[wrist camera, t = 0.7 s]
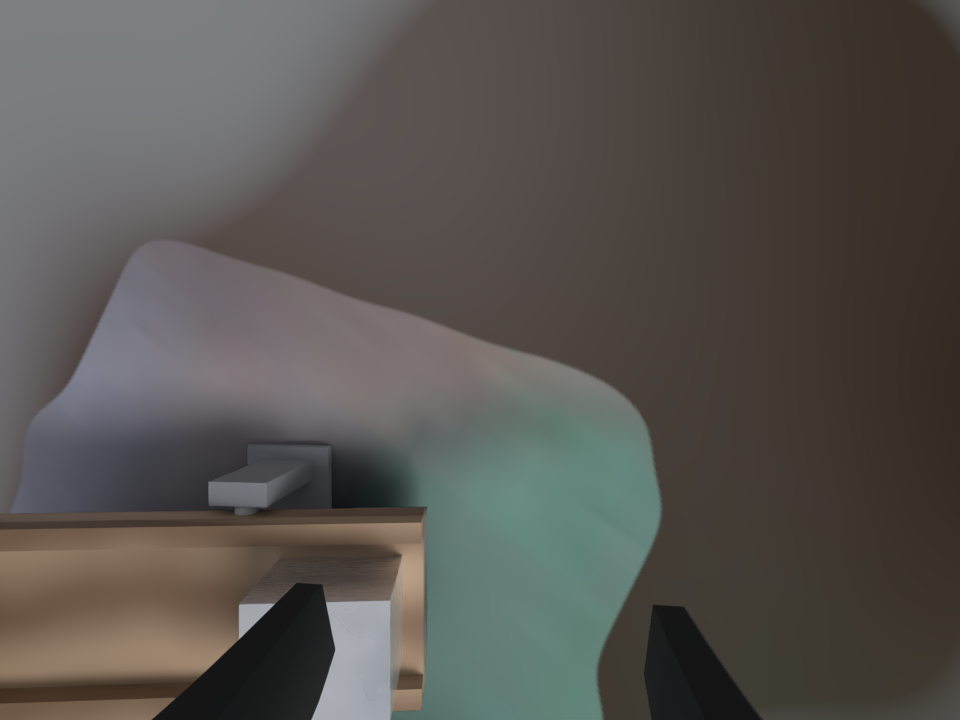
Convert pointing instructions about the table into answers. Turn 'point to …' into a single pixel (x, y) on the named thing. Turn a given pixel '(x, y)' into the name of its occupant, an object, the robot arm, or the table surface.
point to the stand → (278, 479)
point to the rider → (347, 627)
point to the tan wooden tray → (167, 599)
